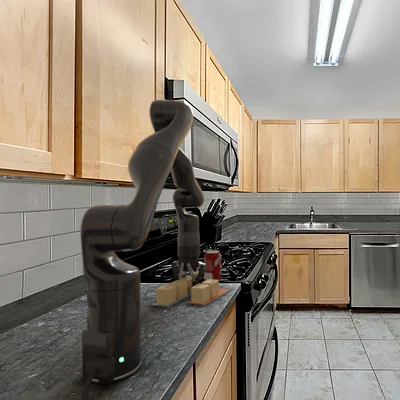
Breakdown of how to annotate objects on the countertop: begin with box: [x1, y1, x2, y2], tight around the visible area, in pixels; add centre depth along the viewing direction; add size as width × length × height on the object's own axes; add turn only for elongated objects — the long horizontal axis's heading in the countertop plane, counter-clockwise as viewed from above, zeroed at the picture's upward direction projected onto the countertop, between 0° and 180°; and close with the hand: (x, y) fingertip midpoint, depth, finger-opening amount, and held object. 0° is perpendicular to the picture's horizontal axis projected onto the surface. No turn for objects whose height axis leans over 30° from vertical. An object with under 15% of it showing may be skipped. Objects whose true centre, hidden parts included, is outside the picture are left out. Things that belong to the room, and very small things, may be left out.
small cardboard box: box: [180, 275, 193, 293], centre depth 111 cm, size 4×4×5 cm
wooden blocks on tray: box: [188, 279, 231, 306], centre depth 107 cm, size 17×6×5 cm, turn 165°
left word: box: [151, 279, 191, 308], centre depth 105 cm, size 18×6×5 cm, turn 165°
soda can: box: [203, 249, 222, 281], centre depth 127 cm, size 7×7×12 cm
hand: (189, 290), depth 111 cm, fingers closed on small cardboard box, 4 cm apart
